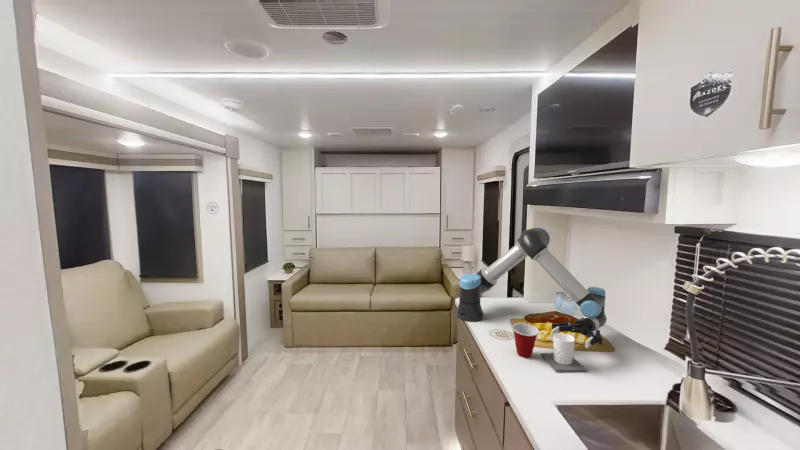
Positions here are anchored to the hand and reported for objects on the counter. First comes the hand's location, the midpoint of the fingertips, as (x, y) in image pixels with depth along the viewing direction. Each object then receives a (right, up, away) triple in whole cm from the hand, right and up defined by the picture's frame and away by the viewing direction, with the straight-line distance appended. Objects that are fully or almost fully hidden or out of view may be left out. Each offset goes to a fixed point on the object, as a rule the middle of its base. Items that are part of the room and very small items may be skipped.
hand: (568, 339), depth 131 cm
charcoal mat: (-4, -9, -3) cm, 10 cm away
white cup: (-4, -8, -3) cm, 9 cm away
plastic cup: (-17, -9, +4) cm, 19 cm away
